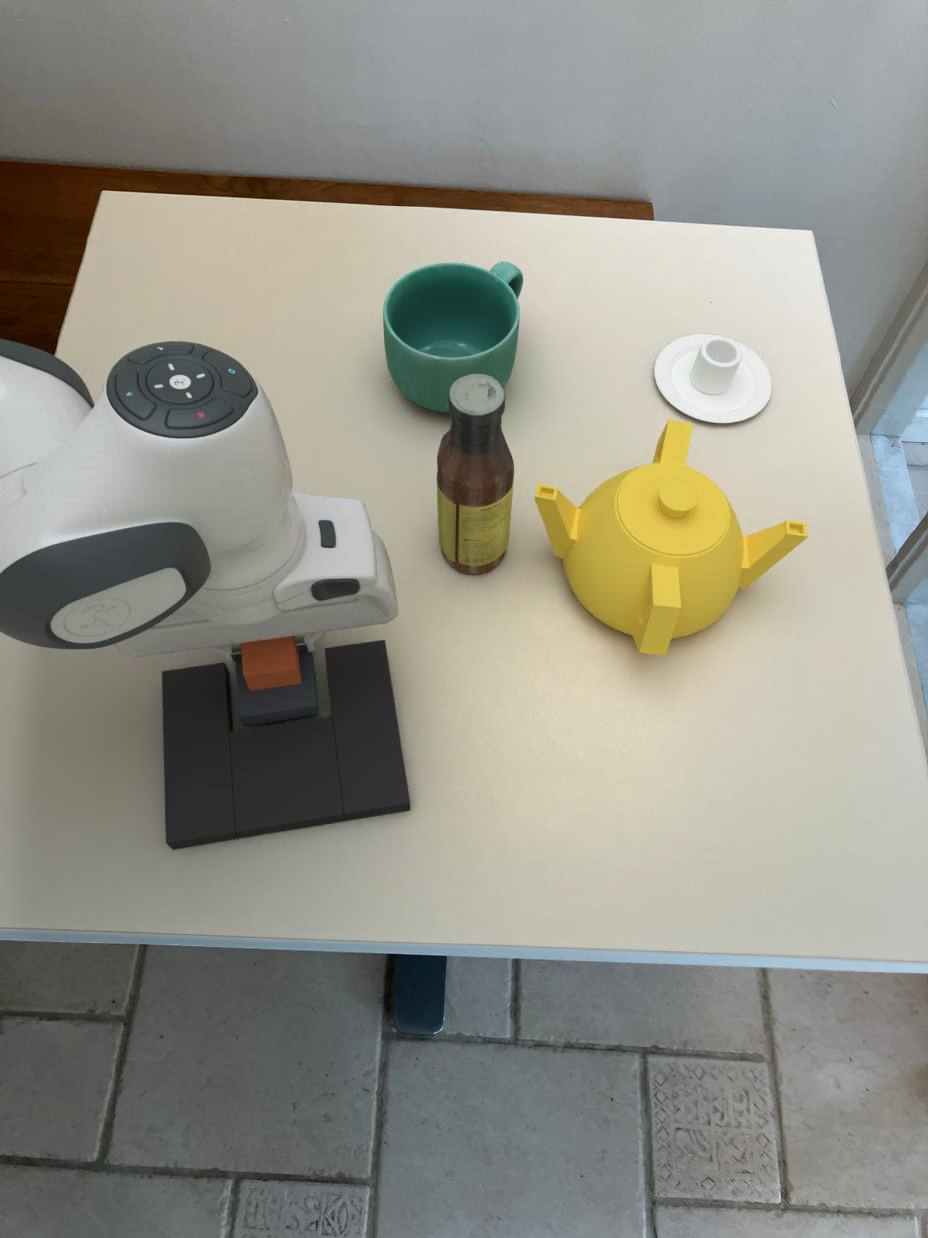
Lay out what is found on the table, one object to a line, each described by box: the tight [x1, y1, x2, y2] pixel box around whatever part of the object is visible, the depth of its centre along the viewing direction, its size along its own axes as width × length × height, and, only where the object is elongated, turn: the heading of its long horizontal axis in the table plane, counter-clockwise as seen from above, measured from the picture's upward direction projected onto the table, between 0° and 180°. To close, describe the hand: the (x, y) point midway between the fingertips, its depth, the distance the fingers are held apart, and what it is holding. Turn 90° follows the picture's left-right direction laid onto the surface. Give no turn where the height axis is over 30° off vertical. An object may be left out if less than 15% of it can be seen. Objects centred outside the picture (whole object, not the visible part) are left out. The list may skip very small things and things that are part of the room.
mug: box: [382, 260, 524, 414], centre depth 86 cm, size 17×13×10 cm
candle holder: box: [653, 333, 773, 424], centre depth 89 cm, size 12×12×4 cm
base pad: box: [161, 639, 411, 850], centre depth 70 cm, size 18×14×2 cm
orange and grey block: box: [234, 636, 320, 727], centre depth 70 cm, size 6×10×5 cm, turn 10°
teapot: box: [534, 418, 809, 656], centre depth 74 cm, size 17×17×12 cm
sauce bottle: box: [436, 374, 515, 575], centre depth 71 cm, size 7×6×20 cm
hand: (271, 649), depth 70 cm, fingers closed on orange and grey block, 4 cm apart
